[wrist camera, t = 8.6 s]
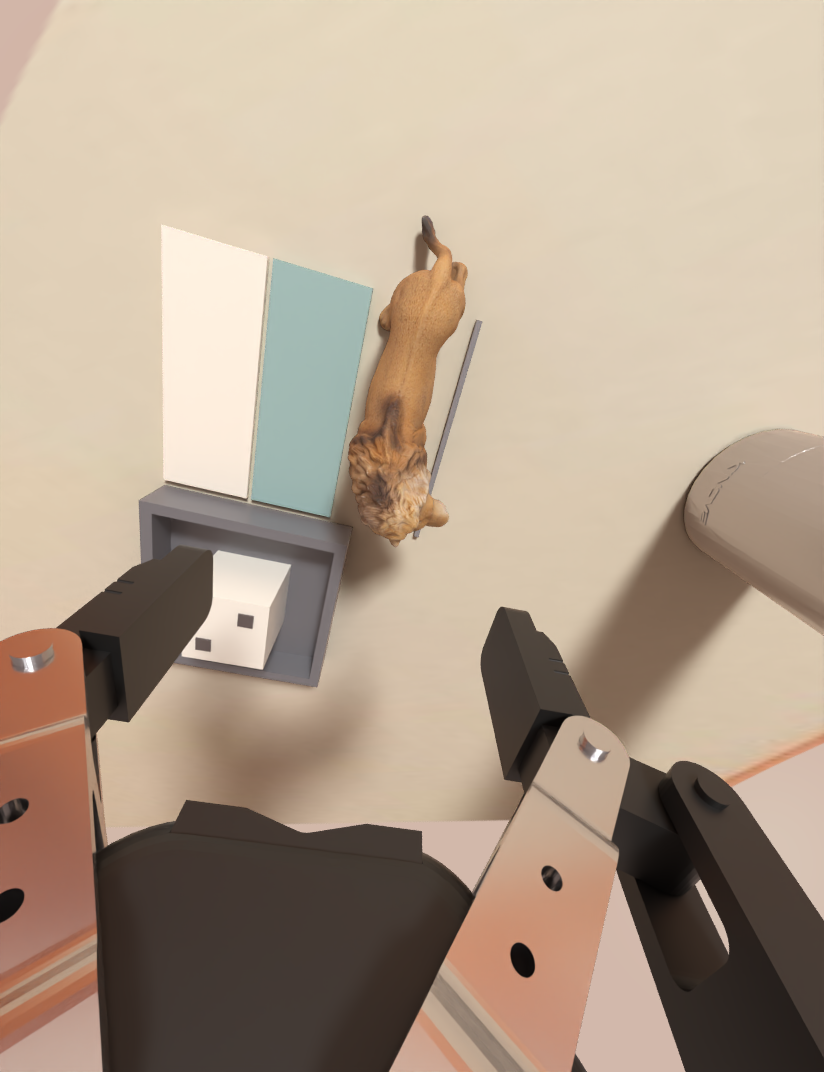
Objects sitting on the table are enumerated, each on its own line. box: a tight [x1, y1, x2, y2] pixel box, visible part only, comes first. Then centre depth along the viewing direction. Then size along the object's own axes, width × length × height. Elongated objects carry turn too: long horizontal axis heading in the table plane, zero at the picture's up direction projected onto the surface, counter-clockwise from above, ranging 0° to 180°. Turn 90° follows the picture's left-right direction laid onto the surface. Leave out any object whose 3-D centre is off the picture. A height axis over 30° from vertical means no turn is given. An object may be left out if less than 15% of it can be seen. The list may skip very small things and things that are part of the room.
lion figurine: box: [348, 216, 468, 547], centre depth 19 cm, size 15×5×9 cm, turn 174°
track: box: [161, 224, 482, 537], centre depth 24 cm, size 17×14×1 cm
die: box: [182, 550, 291, 670], centre depth 26 cm, size 5×5×5 cm
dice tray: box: [139, 485, 353, 687], centre depth 28 cm, size 12×12×3 cm
